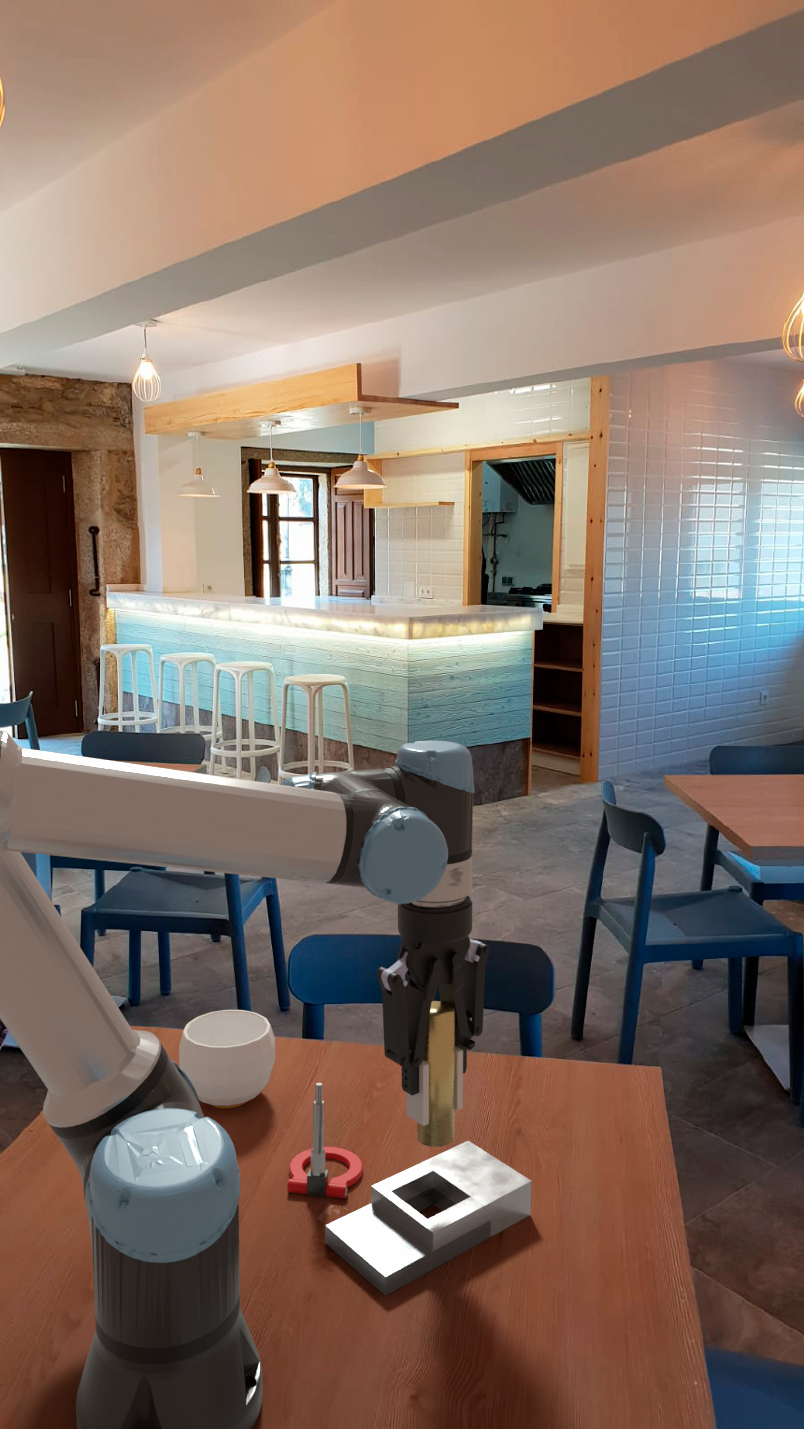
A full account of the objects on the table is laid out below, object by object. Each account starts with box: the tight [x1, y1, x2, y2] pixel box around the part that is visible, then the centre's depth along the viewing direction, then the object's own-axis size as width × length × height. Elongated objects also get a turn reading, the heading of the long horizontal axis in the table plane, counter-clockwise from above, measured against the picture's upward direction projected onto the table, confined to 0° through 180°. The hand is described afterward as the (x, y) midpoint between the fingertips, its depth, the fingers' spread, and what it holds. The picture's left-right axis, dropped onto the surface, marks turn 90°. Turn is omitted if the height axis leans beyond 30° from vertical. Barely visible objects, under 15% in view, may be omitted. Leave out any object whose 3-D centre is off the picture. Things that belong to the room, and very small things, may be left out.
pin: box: [415, 1000, 455, 1148], centre depth 108 cm, size 4×4×14 cm
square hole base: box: [324, 1140, 532, 1297], centre depth 110 cm, size 20×10×4 cm, turn 129°
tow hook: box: [286, 1082, 364, 1199], centre depth 119 cm, size 8×13×9 cm
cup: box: [178, 1009, 276, 1109], centre depth 136 cm, size 12×12×10 cm
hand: (434, 1111), depth 108 cm, fingers closed on pin, 4 cm apart
